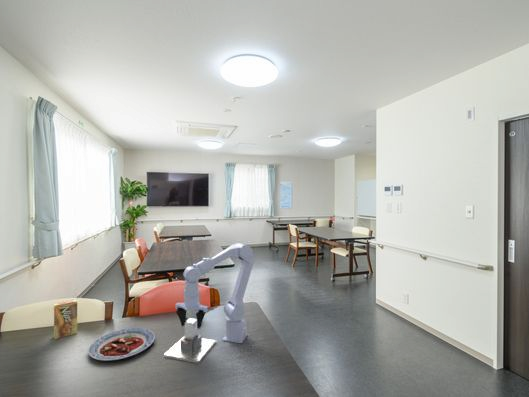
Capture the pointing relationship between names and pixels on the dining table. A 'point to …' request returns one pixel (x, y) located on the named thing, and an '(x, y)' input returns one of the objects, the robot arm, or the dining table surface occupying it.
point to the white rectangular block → (191, 329)
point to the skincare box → (192, 312)
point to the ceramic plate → (121, 344)
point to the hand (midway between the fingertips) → (191, 326)
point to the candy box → (65, 319)
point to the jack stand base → (190, 349)
